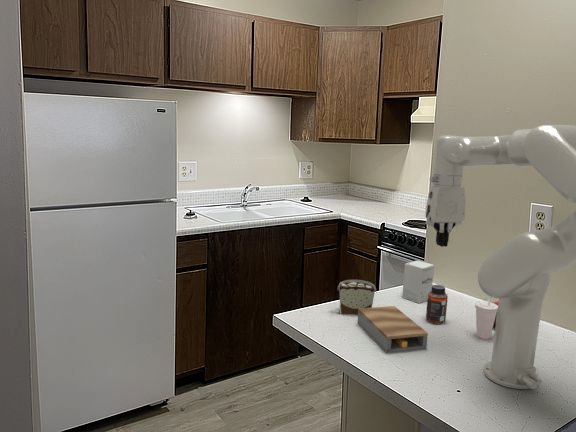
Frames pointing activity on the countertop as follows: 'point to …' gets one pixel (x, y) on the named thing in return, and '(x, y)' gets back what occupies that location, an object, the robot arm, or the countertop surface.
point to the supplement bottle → (436, 305)
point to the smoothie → (485, 318)
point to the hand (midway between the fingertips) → (441, 245)
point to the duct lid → (392, 322)
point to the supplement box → (417, 281)
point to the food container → (355, 296)
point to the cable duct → (392, 344)
